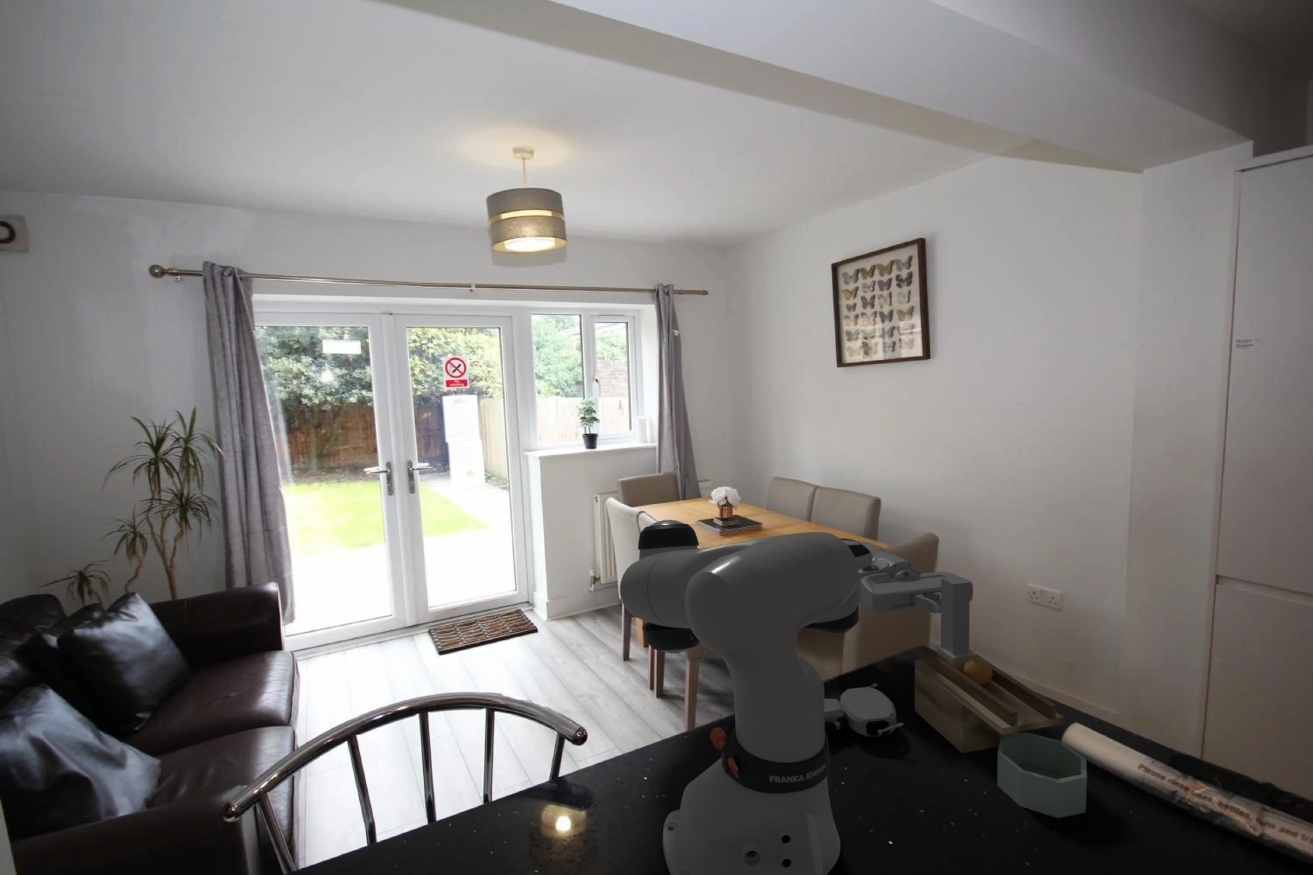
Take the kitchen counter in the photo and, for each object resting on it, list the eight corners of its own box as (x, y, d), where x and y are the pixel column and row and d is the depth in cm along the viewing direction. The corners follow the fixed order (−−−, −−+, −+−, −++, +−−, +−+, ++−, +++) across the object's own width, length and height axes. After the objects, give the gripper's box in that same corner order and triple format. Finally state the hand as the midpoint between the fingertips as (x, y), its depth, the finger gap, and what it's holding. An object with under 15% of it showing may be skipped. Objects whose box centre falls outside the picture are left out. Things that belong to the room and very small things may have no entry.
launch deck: (1001, 788, 85) (1002, 714, 84) (914, 710, 105) (914, 650, 103) (1062, 775, 87) (1064, 703, 86) (966, 702, 106) (966, 642, 105)
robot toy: (813, 755, 96) (908, 746, 95) (810, 729, 95) (906, 719, 94) (797, 712, 108) (881, 703, 107) (794, 688, 107) (879, 679, 107)
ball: (975, 691, 93) (976, 666, 93) (958, 678, 97) (958, 655, 97) (998, 687, 94) (998, 663, 94) (980, 675, 98) (980, 651, 98)
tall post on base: (952, 674, 98) (953, 586, 96) (937, 662, 102) (937, 578, 100) (976, 670, 99) (978, 583, 97) (960, 659, 103) (961, 575, 101)
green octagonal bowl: (1038, 822, 79) (1039, 786, 78) (982, 771, 89) (982, 739, 88) (1104, 808, 80) (1106, 773, 80) (1042, 760, 90) (1043, 728, 90)
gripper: (944, 590, 120) (995, 618, 106) (848, 602, 116) (889, 632, 102) (945, 559, 119) (996, 584, 105) (848, 570, 115) (889, 597, 102)
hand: (943, 608), depth 104 cm, fingers closed
